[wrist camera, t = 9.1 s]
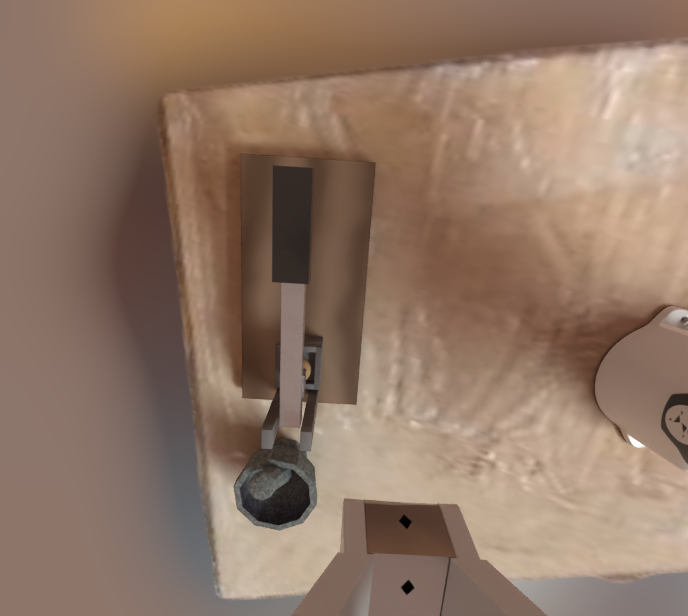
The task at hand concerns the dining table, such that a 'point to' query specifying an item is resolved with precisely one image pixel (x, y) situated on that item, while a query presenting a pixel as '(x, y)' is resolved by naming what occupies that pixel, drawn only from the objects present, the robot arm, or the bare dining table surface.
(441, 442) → the dining table surface
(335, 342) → the press base
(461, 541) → the robot arm
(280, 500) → the mortar and pestle
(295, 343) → the lever
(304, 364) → the nut
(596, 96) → the dining table surface
